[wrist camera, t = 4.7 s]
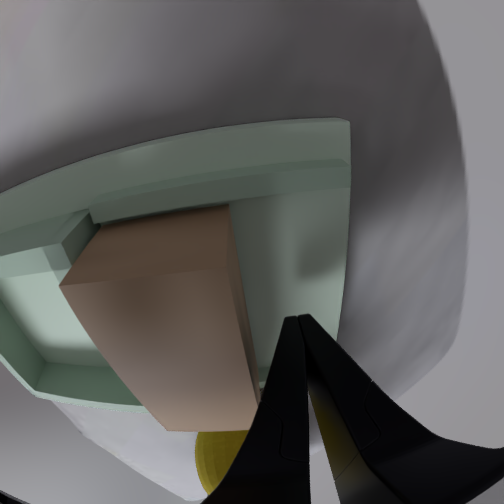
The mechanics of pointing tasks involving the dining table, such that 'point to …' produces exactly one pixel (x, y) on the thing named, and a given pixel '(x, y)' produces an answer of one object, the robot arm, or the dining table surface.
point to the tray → (167, 201)
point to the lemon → (216, 455)
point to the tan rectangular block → (171, 316)
